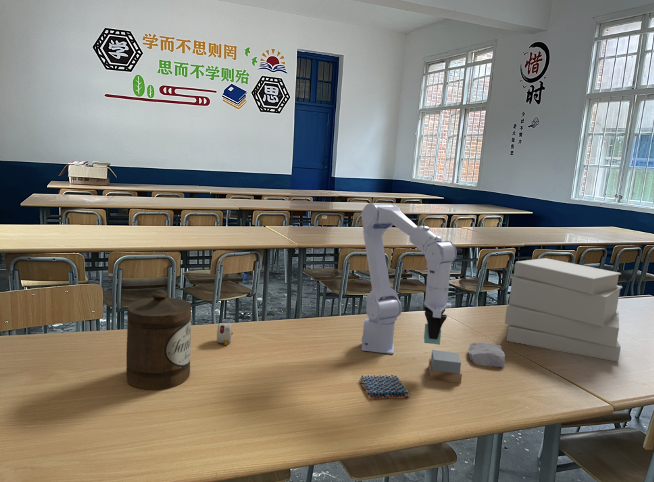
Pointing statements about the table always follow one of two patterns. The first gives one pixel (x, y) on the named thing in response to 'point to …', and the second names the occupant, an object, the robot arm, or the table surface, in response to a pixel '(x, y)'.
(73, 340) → the table surface
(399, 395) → the woven mat
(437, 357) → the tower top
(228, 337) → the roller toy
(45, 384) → the table surface
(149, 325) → the wooden container
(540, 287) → the book stack
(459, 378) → the tower base
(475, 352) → the stone block
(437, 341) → the teal cube
